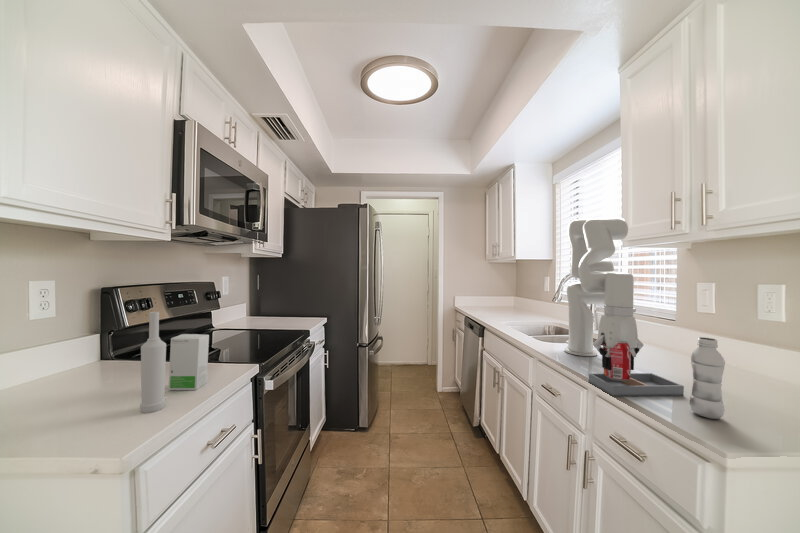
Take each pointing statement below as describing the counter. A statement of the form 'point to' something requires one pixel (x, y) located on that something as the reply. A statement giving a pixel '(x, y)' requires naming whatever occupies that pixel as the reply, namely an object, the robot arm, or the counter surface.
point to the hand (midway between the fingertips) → (617, 368)
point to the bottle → (153, 368)
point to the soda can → (619, 362)
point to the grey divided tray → (637, 385)
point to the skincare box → (188, 362)
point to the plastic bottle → (707, 379)
